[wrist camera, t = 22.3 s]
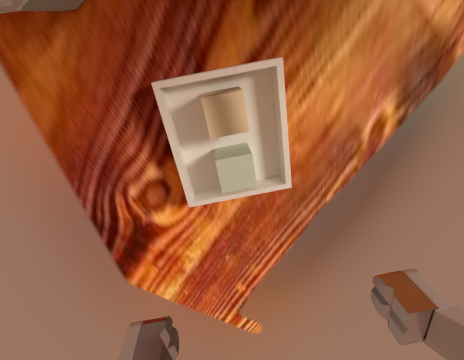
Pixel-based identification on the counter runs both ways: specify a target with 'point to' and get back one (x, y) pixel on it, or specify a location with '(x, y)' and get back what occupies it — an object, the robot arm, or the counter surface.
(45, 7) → the disposable coffee cup
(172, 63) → the counter surface
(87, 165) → the counter surface
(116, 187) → the counter surface
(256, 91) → the tray
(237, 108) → the maple block
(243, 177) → the sage block
